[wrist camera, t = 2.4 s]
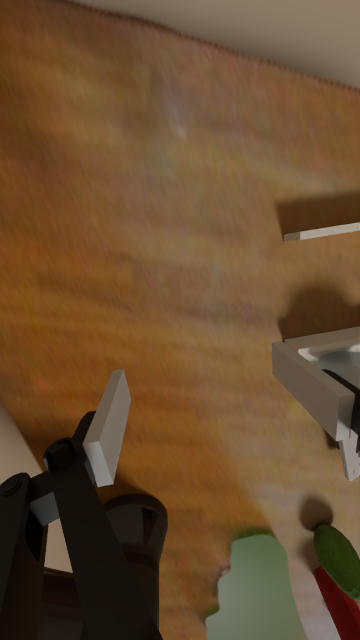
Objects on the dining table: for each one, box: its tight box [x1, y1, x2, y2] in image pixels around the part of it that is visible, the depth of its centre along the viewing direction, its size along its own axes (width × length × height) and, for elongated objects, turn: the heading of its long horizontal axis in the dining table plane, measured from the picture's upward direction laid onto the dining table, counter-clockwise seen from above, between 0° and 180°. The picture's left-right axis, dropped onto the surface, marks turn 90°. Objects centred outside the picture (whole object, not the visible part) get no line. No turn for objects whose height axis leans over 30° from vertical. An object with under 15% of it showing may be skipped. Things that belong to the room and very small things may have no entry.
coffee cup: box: [314, 566, 360, 640], centre depth 51 cm, size 8×8×15 cm
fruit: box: [314, 524, 360, 603], centre depth 47 cm, size 8×8×12 cm
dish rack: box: [284, 222, 360, 366], centre depth 34 cm, size 17×25×4 cm
